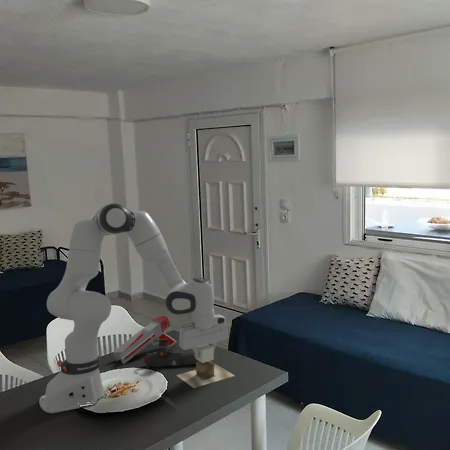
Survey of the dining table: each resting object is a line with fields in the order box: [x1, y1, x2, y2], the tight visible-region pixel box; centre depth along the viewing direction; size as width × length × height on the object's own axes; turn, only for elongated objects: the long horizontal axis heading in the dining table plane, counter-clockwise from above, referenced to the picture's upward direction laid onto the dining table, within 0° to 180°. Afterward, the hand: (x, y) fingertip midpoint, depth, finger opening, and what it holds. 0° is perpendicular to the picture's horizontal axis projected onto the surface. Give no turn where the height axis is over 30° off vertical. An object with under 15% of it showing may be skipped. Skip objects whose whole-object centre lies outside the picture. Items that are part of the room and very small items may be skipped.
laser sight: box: [144, 339, 199, 369], centre depth 210 cm, size 10×22×10 cm, turn 91°
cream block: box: [196, 344, 215, 363], centre depth 197 cm, size 5×5×5 cm
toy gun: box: [112, 315, 178, 365], centre depth 225 cm, size 7×28×15 cm, turn 133°
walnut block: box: [195, 360, 215, 379], centre depth 198 cm, size 5×5×5 cm
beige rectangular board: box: [176, 363, 235, 389], centre depth 198 cm, size 18×14×1 cm
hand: (204, 355), depth 198 cm, fingers closed on cream block, 5 cm apart
